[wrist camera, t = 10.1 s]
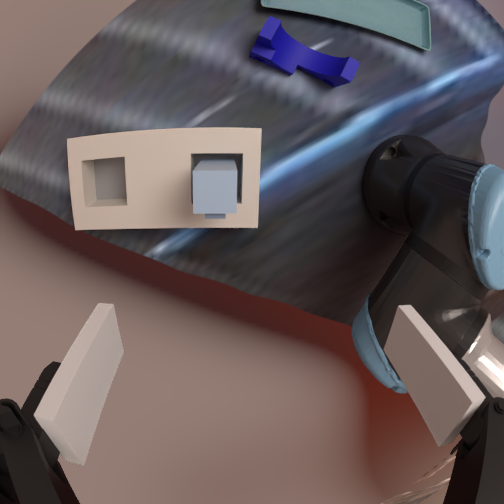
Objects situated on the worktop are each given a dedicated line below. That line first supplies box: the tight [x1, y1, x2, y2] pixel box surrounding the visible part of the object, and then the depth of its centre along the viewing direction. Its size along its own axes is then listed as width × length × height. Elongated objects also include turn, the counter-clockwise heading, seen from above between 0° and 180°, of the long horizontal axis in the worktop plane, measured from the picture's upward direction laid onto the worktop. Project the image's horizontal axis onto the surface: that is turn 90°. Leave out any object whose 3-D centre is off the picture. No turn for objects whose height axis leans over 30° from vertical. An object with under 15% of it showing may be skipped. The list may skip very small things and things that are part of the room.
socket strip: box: [67, 128, 262, 230], centre depth 36 cm, size 24×12×5 cm, turn 88°
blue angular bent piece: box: [249, 16, 360, 87], centre depth 32 cm, size 12×4×6 cm, turn 65°
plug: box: [193, 158, 237, 219], centre depth 33 cm, size 4×5×12 cm
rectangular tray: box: [261, 0, 431, 52], centre depth 30 cm, size 26×9×2 cm, turn 85°
